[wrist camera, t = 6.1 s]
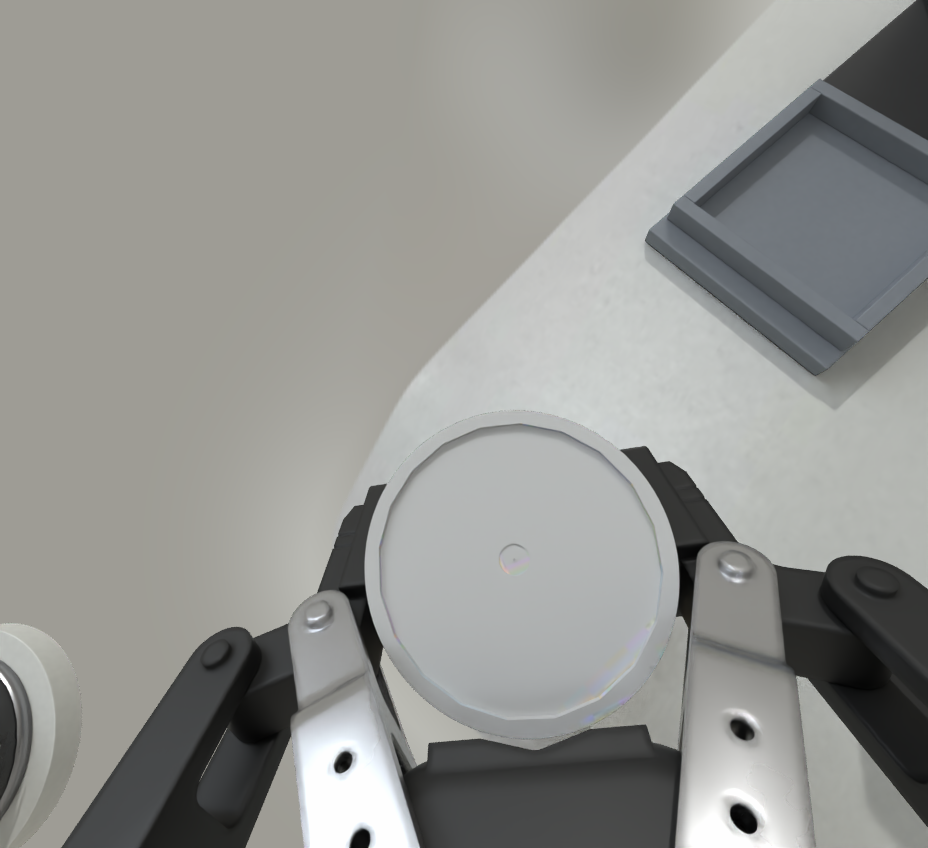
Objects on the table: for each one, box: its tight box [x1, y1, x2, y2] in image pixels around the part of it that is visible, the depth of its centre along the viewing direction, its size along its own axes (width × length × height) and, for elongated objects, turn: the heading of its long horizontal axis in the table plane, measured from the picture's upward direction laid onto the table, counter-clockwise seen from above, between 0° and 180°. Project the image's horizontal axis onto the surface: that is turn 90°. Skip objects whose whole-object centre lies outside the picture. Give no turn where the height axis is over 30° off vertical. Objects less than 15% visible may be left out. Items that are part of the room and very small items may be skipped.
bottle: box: [365, 410, 679, 739], centre depth 16 cm, size 7×7×15 cm
